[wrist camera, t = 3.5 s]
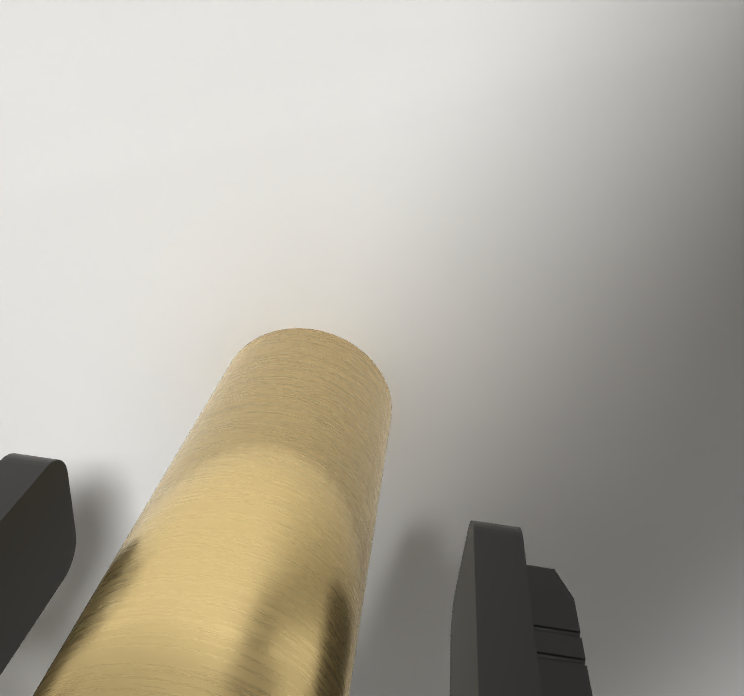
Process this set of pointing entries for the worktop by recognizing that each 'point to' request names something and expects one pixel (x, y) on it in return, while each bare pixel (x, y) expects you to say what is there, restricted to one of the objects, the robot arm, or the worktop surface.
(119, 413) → the worktop surface
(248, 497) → the pin
